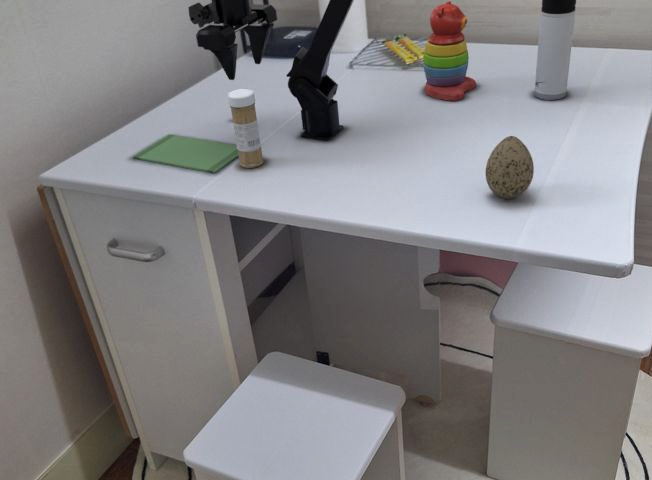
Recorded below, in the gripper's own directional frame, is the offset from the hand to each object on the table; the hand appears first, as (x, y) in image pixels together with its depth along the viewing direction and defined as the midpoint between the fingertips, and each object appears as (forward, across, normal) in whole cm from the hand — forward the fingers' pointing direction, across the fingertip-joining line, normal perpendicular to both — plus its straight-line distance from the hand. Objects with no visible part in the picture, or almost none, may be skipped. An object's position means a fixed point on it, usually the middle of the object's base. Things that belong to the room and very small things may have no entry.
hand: (245, 71), depth 132 cm
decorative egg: (+12, +11, +54) cm, 57 cm away
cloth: (+12, +12, -7) cm, 19 cm away
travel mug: (+12, -33, +51) cm, 62 cm away
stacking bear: (+12, -31, +30) cm, 45 cm away
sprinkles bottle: (+13, +13, +7) cm, 19 cm away
